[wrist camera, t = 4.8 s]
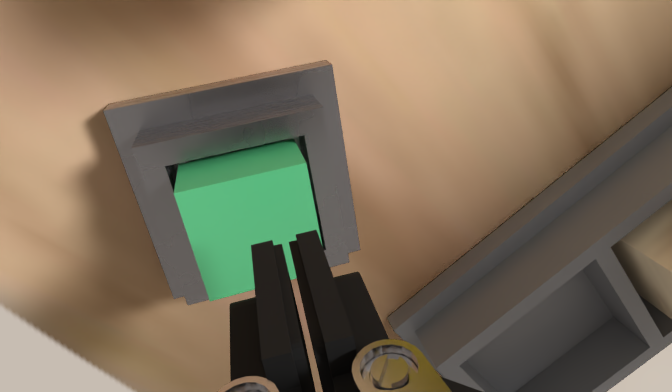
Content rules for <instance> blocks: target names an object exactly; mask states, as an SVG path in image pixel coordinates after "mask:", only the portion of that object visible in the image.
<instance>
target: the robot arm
mask: <svg viewBox="0 0 672 392" xmlns="http://www.w3.org/2000/svg"><path fill="white" fill-rule="evenodd" d="M296 239H297V240H295V241H291V242H289V246H290V250H291V255H292V259H293V263H294V268H295V272H296V276H297V281H298V285H299V290H300V294H301V298H302V303H303V307H304V311H305V316H306V320H307V325H308V329H309V333H310V338H311V342H312V346H313V350H314V355H315V359H316V363H317V368H318V372H319V376H320V381H321V385H322V389H323V392H482V391H479V390H477V389H474V388H471V387H468V386H466V385H463V384H460V383H457V382H454V381H452V380H449V379H446V378H443V377H441V376H439V374H438V373H437V372H436V370H435V369H434V368H433V366H432V365H431V364H430V362H429V361H428V360H427V358H426V357H425V356H424V354H423V353H422V352H421V351H420V350H419V349H418V348H417V347H416V346H414V345H412V344H410V343H408V342H406V341H402V340H397V339H389V338H388V336H387V334H386V331H385V329H384V327H383V325H382V322H381V320H380V318H379V316H378V313H377V311H376V309H375V307H374V304H373V302H372V300H371V298H370V295H369V293H368V291H367V289H366V286H365V284H364V282H363V280H362V277H361V275H360V273H359V272H354V273H350V274H346V275H342V276H338V277H334V278H333V275H332V272H331V269H330V267H329V264H328V261H327V258H326V255H325V252H324V249H323V247H322V244H321V241H320V238H319V235H318V232H317V230H312V231H308V232H304V233H300V234H296ZM251 252H252V263H253V274H254V284H255V295H256V297H254V298H250V299H246V300H242V301H238V302H234V303H231V304H230V365H231V382H229V383H227V384H226V385H224V386H223V387H221V388H220V389H219V390H218V391H217V392H316V391H315V386H314V382H313V377H312V372H311V368H310V363H309V358H308V354H307V349H306V344H305V340H304V335H303V331H302V326H301V322H300V318H299V314H298V310H297V305H296V301H295V297H294V293H293V288H292V284H291V280H290V276H289V272H288V267H287V263H286V259H285V255H284V250H283V246H282V244H278V245H274V244H273V241H272V240H270V241H266V242H262V243H258V244H253V245H251Z"/></svg>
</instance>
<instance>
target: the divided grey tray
mask: <svg viewBox="0 0 672 392" xmlns="http://www.w3.org/2000/svg"><path fill="white" fill-rule="evenodd" d="M670 200H672V87H671V88H670V89H669V90H667V91H666V92H665V93H664V94H662V95H661V96H660V97H659V98H658V99H656V100H655V101H654V102H653V103H651V104H650V105H649V106H648V107H646V108H645V109H644V110H643V111H642V112H640V113H639V114H638V115H637V116H635V117H634V118H633V119H632V120H630V121H629V122H628V123H627V124H625V125H624V126H623V127H622V128H621V129H619V130H618V131H617V132H616V133H614V134H613V135H612V136H611V137H609V138H608V139H607V140H606V141H604V142H603V143H602V144H601V145H600V146H598V147H597V148H596V149H595V150H593V151H592V152H591V153H590V154H588V155H587V156H586V157H585V158H584V159H582V160H581V161H580V162H579V163H577V164H576V165H575V166H574V167H572V168H571V169H570V170H569V171H567V172H566V173H565V174H564V175H563V176H561V177H560V178H559V179H558V180H556V181H555V182H554V183H553V184H551V185H550V186H549V187H548V188H546V189H545V190H544V191H543V192H542V193H540V194H539V195H538V196H537V197H535V198H534V199H533V200H532V201H530V202H529V203H528V204H527V205H526V206H524V207H523V208H522V209H521V210H519V211H518V212H517V213H516V214H514V215H513V216H512V217H511V218H509V219H508V220H507V221H506V222H505V223H503V224H502V225H501V226H500V227H498V228H497V229H496V230H495V231H493V232H492V233H491V234H490V235H488V236H487V237H486V238H485V239H484V240H482V241H481V242H480V243H479V244H477V245H476V246H475V247H474V248H472V249H471V250H470V251H469V252H468V253H466V254H465V255H464V256H463V257H461V258H460V259H459V260H458V261H456V262H455V263H454V264H453V265H451V266H450V267H449V268H448V269H447V270H445V271H444V272H443V273H442V274H440V275H439V276H438V277H437V278H435V279H434V280H433V281H432V282H430V283H429V284H428V285H427V286H426V287H424V288H423V289H422V290H421V291H419V292H418V293H417V294H416V295H414V296H413V297H412V298H411V299H409V300H408V301H407V302H406V303H405V304H403V305H402V306H401V307H400V308H398V309H397V310H396V311H395V312H393V313H392V314H391V315H390V316H389V317H387V319H388V321H389V323H390V325H391V327H392V329H393V331H394V332H395V333H397V334H398V335H399V336H400V337H401V338H402V339H403V340H404V341H406V342H408V343H410V344H412V345H414V346H416V347H417V348H418V349H419V350H420V351H421V352H422V353H423V354H424V356H425V357H426V358H427V360H428V361H429V362H430V364H431V365H432V366H433V368H434V369H435V370H436V371H437V372H438V373H439V374H440V375H441V376H442V377H443V378H446V379H449V380H452V381H454V382H457V383H460V384H463V385H466V386H468V387H471V388H474V389H477V390H479V391H482V392H607V391H608V390H609V389H611V388H612V387H613V386H615V385H616V384H617V383H619V382H620V381H621V380H623V379H624V378H625V377H627V376H628V375H629V374H631V373H632V372H633V371H635V370H636V369H637V368H639V367H640V366H641V365H643V364H644V363H645V362H647V361H648V360H649V359H651V358H652V357H653V356H655V355H656V354H658V353H659V352H660V351H661V350H663V349H664V348H665V347H667V346H668V345H670V344H671V343H672V319H671V318H669V317H668V316H667V315H665V314H664V313H663V312H661V311H660V310H659V309H657V308H656V307H655V306H653V305H652V304H651V303H649V302H648V301H646V300H645V299H644V298H642V297H641V296H640V295H638V293H637V292H636V290H635V288H634V286H633V285H632V283H631V281H630V280H629V278H628V276H627V274H626V273H625V271H624V269H623V268H622V266H621V264H620V262H619V261H618V259H617V257H616V256H615V254H614V252H613V250H612V249H611V247H612V246H613V245H614V244H615V243H617V242H618V241H619V240H621V239H622V238H623V237H624V236H626V235H627V234H628V233H630V232H631V231H632V230H633V229H635V228H636V227H637V226H638V225H640V224H641V223H642V222H644V221H645V220H646V219H647V218H649V217H650V216H651V215H652V214H654V213H655V212H656V211H658V210H659V209H660V208H661V207H663V206H664V205H665V204H667V203H668V202H669V201H670Z"/></svg>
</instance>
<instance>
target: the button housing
mask: <svg viewBox="0 0 672 392" xmlns="http://www.w3.org/2000/svg"><path fill="white" fill-rule="evenodd" d="M103 112H104V115H105V117H106V120H107V122H108V125H109V128H110V130H111V133H112V136H113V138H114V141H115V144H116V146H117V149H118V152H119V154H120V157H121V160H122V162H123V165H124V168H125V170H126V173H127V176H128V178H129V181H130V183H131V186H132V189H133V191H134V194H135V197H136V199H137V202H138V205H139V207H140V210H141V213H142V215H143V218H144V221H145V223H146V226H147V229H148V231H149V234H150V237H151V239H152V242H153V244H154V247H155V250H156V252H157V255H158V258H159V260H160V263H161V266H162V268H163V271H164V274H165V276H166V279H167V282H168V284H169V287H170V290H171V292H172V295H173V297H174V299H176V298H179V297H183V296H185V299H186V301H187V304H188V305H191V304H194V303H198V302H202V301H206V300H209V297H208V294H207V291H206V288H205V285H204V282H203V279H202V276H201V273H200V270H199V267H198V264H197V261H196V258H195V256H194V253H193V250H192V247H191V244H190V241H189V238H188V235H187V232H186V229H185V226H184V223H183V220H182V217H181V214H180V211H179V208H178V205H177V202H176V199H175V196H174V189H175V183H176V176H177V170H178V164H182V163H186V162H191V161H195V160H199V159H204V158H208V157H213V156H217V155H222V154H226V153H231V152H235V151H240V150H244V149H249V148H253V147H258V146H262V145H267V144H271V143H276V142H280V141H284V140H289V139H293V138H294V140H295V142H296V144H297V146H298V148H299V150H300V152H301V154H302V155H303V157H304V159H305V161H306V164H307V169H308V174H309V179H310V184H311V190H312V195H313V200H314V205H315V210H316V216H317V221H318V226H319V231H320V236H321V241H322V247H323V249H324V252H325V255H326V258H327V261H328V264H329V267H333V266H337V265H341V264H345V263H348V262H349V257H348V253H350V252H354V251H358V250H360V245H359V238H358V232H357V225H356V218H355V212H354V205H353V199H352V192H351V186H350V179H349V172H348V166H347V159H346V153H345V146H344V140H343V133H342V127H341V120H340V113H339V107H338V100H337V94H336V87H335V81H334V74H333V67H332V64H331V63H329V62H328V61H327V60H325V61H320V62H315V63H310V64H305V65H300V66H295V67H290V68H285V69H280V70H275V71H270V72H265V73H260V74H255V75H250V76H245V77H240V78H235V79H230V80H225V81H220V82H215V83H210V84H205V85H200V86H195V87H190V88H185V89H180V90H175V91H170V92H166V93H161V94H156V95H151V96H146V97H141V98H136V99H131V100H126V101H121V102H116V103H111V104H108V105H107V107H106V108H105V109H104V110H103Z"/></svg>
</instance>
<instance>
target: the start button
mask: <svg viewBox="0 0 672 392" xmlns="http://www.w3.org/2000/svg"><path fill="white" fill-rule="evenodd" d="M174 196H175V199H176V202H177V205H178V208H179V211H180V214H181V217H182V220H183V223H184V226H185V229H186V232H187V235H188V238H189V241H190V244H191V247H192V250H193V253H194V256H195V258H196V261H197V264H198V267H199V270H200V273H201V276H202V279H203V282H204V285H205V288H206V291H207V294H208V297H209V300H210V301H213V300H217V299H221V298H224V297H228V296H232V295H236V294H239V293H243V292H247V291H251V290H254V289H255V284H254V274H253V263H252V252H251V245H253V244H258V243H262V242H266V241H270V240H272V241H273V244H274V245H278V244H282V246H283V250H284V255H285V259H286V263H287V267H288V272H289V276H290V280H292V279H296V278H297V276H296V272H295V268H294V263H293V259H292V255H291V250H290V246H289V242H291V241H295V240H297V239H296V234H300V233H304V232H308V231H312V230H317V232H318V235H319V238H320V241H321V236H320V231H319V226H318V221H317V216H316V210H315V205H314V200H313V195H312V190H311V184H310V179H309V174H308V169H307V164H306V161H305V159H304V157H303V155H302V154H301V152H300V150H299V148H298V146H297V144H296V142H295V140H294V138H293V139H289V140H284V141H280V142H276V143H271V144H267V145H262V146H258V147H253V148H249V149H244V150H240V151H235V152H231V153H226V154H222V155H217V156H213V157H208V158H204V159H199V160H195V161H191V162H186V163H182V164H178V170H177V176H176V183H175V189H174ZM321 244H322V241H321Z"/></svg>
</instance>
